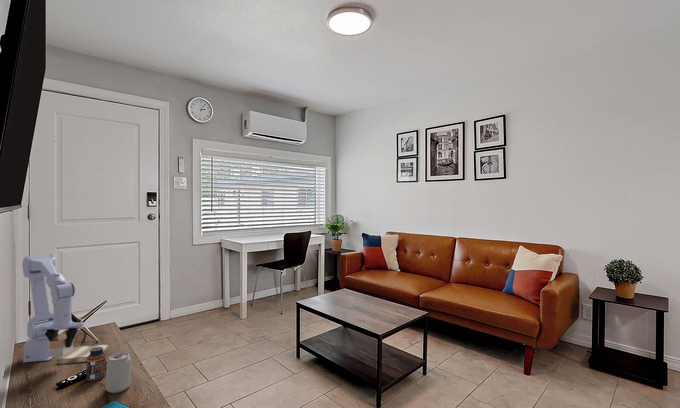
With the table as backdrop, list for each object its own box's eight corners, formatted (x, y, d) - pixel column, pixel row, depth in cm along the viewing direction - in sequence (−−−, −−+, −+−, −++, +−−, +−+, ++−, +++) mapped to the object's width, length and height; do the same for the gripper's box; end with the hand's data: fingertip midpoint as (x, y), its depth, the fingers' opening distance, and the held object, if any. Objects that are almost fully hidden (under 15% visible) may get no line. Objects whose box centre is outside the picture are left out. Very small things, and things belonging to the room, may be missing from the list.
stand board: (57, 363, 141) (57, 359, 141) (74, 349, 154) (74, 346, 154) (96, 360, 144) (96, 356, 144) (109, 346, 158) (109, 343, 158)
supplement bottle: (95, 383, 127) (95, 352, 127) (82, 381, 128) (82, 351, 128) (109, 375, 132) (109, 346, 132) (96, 373, 134) (96, 344, 134)
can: (126, 380, 129) (126, 349, 128) (133, 388, 124) (134, 355, 124) (103, 389, 123) (103, 356, 123) (110, 396, 118) (110, 362, 118)
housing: (49, 356, 133) (49, 341, 133) (60, 348, 140) (60, 333, 140) (62, 355, 134) (63, 340, 134) (73, 347, 141) (73, 332, 141)
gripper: (34, 318, 131) (34, 353, 131) (78, 315, 135) (77, 349, 135) (45, 312, 138) (45, 345, 138) (86, 310, 142) (86, 342, 142)
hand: (61, 347), depth 137 cm, fingers closed on housing, 4 cm apart
